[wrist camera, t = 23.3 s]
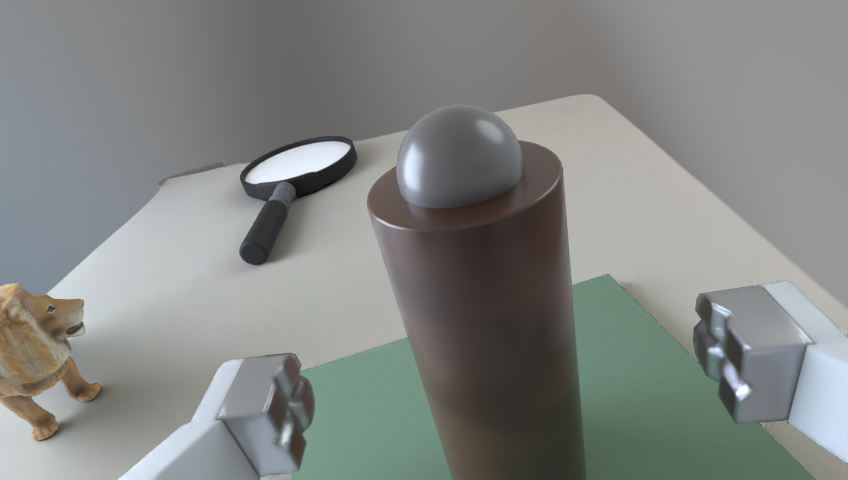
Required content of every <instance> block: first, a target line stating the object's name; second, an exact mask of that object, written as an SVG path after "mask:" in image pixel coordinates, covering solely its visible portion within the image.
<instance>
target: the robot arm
mask: <svg viewBox="0 0 848 480" xmlns="http://www.w3.org/2000/svg"><path fill="white" fill-rule="evenodd" d="M695 310H696V312H697V314H698V315H699V317H700V318H701V320H700V322H699V323H698V324H697V325H696V326H695V327H694V333H693V343H694V348H695V353H696V356H697V359H698V361H699V364H700V366H701V368H702V369H703V371H704V373H705V375H706V376H707V377H709V378H711V379H713V380H714V381H716V382H718V383H719V388H718V396H719V398H720V399H721V401H722V403H723V404H724V406H725V408H726V409H727V411H728V412H729V414H730V416H731V417H732V419H733V421H734V422H735V424H749V423H761V422H773V421H785V420H788V423H789V424H790V425H792V426H793V427H795V428H796V429H798V430H799V431H800V432H802V433H803V434H805V435H806V436H808V437H809V438H811V439H812V440H814V441H815V442H817V443H818V444H819V445H821V446H822V447H824V448H825V449H827V450H828V451H830V452H831V453H833V454H834V455H835V456H837V457H838V458H840V459H841V460H843V461H844V462H846V463H847V464H848V336H847V335H846V334H845V333H844V332H843V331H842V330H841V329H840V328H839V327H838V326H837V325H836V324H835V323H834V322H833V321H832V320H831V319H830V318H829V317H828V316H827V315H826V314H825V313H824V312H823V311H821V310H820V309H819V308H818V307H817V306H816V305H815V304H814V303H813V302H812V301H811V300H810V299H809V298H808V297H807V296H806V295H805V294H804V293H803V292H802V291H801V290H800V289H799V288H798V287H797V286H796V285H795V284H794V283H792V282H790V281H787V280H783V281H777V282H771V283H764V284H758V285H756V286H748V287H741V288H734V289H728V290H721V291H715V292H708V293H701V294H699V296H698V298H697V300H696V308H695ZM300 369H301V363H300V361H299V359H298V358H297V356H296V354H293V353H283V354H275V355H266V356H258V357H249V358H246V359H237V360H228V361H225V362H224V363H223V364H221V365H220V367H219V369H218V371H217V373H216V375H215V377H214V378H213V380H212V382H211V384H210V386H209V388H208V390H207V392H206V394H205V396H204V398H203V400H202V401H201V403H200V405H199V407H198V409H197V411H196V413H195V415H194V417H193V419H192V421H191V423H190V424H183V425H182V426H181V427H180V428H178V429H177V430H176V431H175V432H174V433H172V434H171V435H170V436H169V437H168V438H167V439H165V440H164V441H163V442H162V443H161V444H159V445H158V446H157V447H156V448H155V449H154V450H152V451H151V452H150V453H149V454H148V455H146V456H145V457H144V458H143V459H142V460H141V461H139V462H138V463H137V464H136V465H135V466H133V467H132V468H131V469H130V470H129V471H127V472H126V473H125V474H124V475H123V476H122V477H120V478H119V479H118V480H260V478H259V477H264V476H271V475H278V474H285V473H293V472H299V470H300V466H301V462H302V459H303V455H304V451H305V448H306V444H307V442H306V440H305V438H304V436H303V433H304V432H305V431H306V430H307V428H308V427H309V426H310V425H311V424H312V421H313V417H314V413H315V397H314V392H313V388H312V386H311V384H310V382H309V380H308V379H307V378H305V377H304V376H302V375H300V374H299V372H300Z"/></svg>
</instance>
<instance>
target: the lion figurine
mask: <svg viewBox="0 0 848 480" xmlns="http://www.w3.org/2000/svg"><path fill="white" fill-rule="evenodd" d="M83 306H84V300H82V299H53V298H51V297H50V296H48V295H32V294H30V293H29V292H27V291H26V290H25V289H24V288H23V287H22V286H21V285H20V284H19V283H15V284H5V285H3V286H1V287H0V402H1V403H2V404H3V405H4V406H5V407H7V408H8V409H10V410H11V411H13V412H14V413H15V414H17V415H18V416H19V417H21V418H23V419H24V420H26V421H28V422H29V423H30V424H31V425H32V427H33V432H32V437H33V438H34V439H35V440H43V439H45V438H48V437H50V436H51V435H52V434H53V433H54V432H56V431H57V429H58V427H59V426H58V422H57V421H56V420H55V416H54V415H53V414H51V413H49V412H48V411H46V410H44V409H43V408H41V407H40V406H39V405H37V404H36V403H35V402H34V401H33V400H32V398H31V396H36V395H38V394H40V393H41V392H42V391H43V390H45V389H48V388H50V387H51V386H53V385H55V384H56V383H57V382H58V381H59V380H61V381H62V382H63V384H64V387H65V389H66V391H67V393H68V395H69V396H70V397H71V398H73V399H77V400H79V401H80V402H88V401H90V400H92V399H94V398H95V397H96V395H97V394H98V393H99V391H100V389H101V385H100V384H98V383H94V384H88V383H87V382H86V381H84V379H83V378H82V377H81V376H80V374H79V373H78V371H77V368H76V366H75V363H74V361H73V360H72V358H71V357H70V356H69V355H70V353H71V347H70V345H69V342H68V340H67V339H66V338H69V337H75V336H81V335H83V334H84V333H85V326H84V324H83V322H82V319H83Z"/></svg>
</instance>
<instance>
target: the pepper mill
mask: <svg viewBox="0 0 848 480" xmlns="http://www.w3.org/2000/svg"><path fill="white" fill-rule="evenodd" d="M367 208H368V211H369V215H370V218H371V221H372V224H373V227H374V231H375V234H376V237H377V240H378V243H379V246H380V250H381V253H382V256H383V259H384V262H385V266H386V269H387V272H388V275H389V278H390V282H391V285H392V288H393V291H394V294H395V298H396V301H397V304H398V307H399V310H400V313H401V317H402V320H403V323H404V326H405V329H406V333H407V336H408V339H409V342H410V345H411V349H412V352H413V355H414V358H415V361H416V365H417V368H418V371H419V374H420V377H421V380H422V384H423V387H424V390H425V393H426V396H427V400H428V403H429V406H430V409H431V412H432V416H433V419H434V422H435V425H436V428H437V432H438V435H439V438H440V441H441V444H442V447H443V451H444V454H445V457H446V460H447V463H448V467H449V470H450V473H451V476H452V479H453V480H586V463H585V450H584V437H583V424H582V411H581V398H580V385H579V372H578V359H577V346H576V333H575V320H574V307H573V294H572V281H571V268H570V255H569V242H568V229H567V216H566V203H565V190H564V177H563V167H562V164H561V161H560V160H559V158H558V157H557V155H555V154H554V153H553V152H552V151H551V150H549V149H547V148H545V147H543V146H540V145H538V144H534V143H531V142H526V141H520V140H517V138H516V136H515V134H514V133H513V131H512V130H511V129H510V127H509V126H508V125H507V124H506V123H505V122H504V121H503V120H502V119H500V118H499V117H498V116H496V115H495V114H493V113H491V112H489V111H488V110H486V109H483V108H480V107H477V106H472V105H450V106H445V107H442V108H439V109H436V110H434V111H432V112H430V113H428V114H427V115H425V116H424V117H422V118H421V119H420V120H419V121H418V122H417V123H415V124H414V125H413V127H412V128H411V129H410V130H409V132H408V133H407V135H406V136H405V138H404V140H403V142H402V144H401V147H400V150H399V153H398V157H397V166H395V167H394V168H392V169H391V170H389V171H388V172H386V173H385V174H384V175H383V176H382V177H380V178H379V179H378V180H377V182H376V183H375V184H374V185H373V187H372V188H371V189H370V192H369V194H368V198H367Z"/></svg>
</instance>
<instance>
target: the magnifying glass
mask: <svg viewBox="0 0 848 480" xmlns="http://www.w3.org/2000/svg"><path fill="white" fill-rule="evenodd" d="M356 160H357V154H356V151H355V147H354V144H353V142H352V141H351V140H350V139H348V138H345V137H340V136H326V137H317V138H312V139H307V140H303V141H299V142H295V143H292V144H289V145H286V146H283V147H281V148H278V149H276V150H274V151H271V152H269V153H267V154H265V155H263V156H262V157H260V158H258V159H256V160H255V161H253V162H252V163H250V164H249V165H248V166H247V167H246V168H245V169H244V170H243V171H242V173H241V175H240V180H241V183H242V185H243V187H244V189H245V191H246V193H247V194H248V195H249V196H251V197H254V198H258V199H262V200H264V201H268V202H267V203H266V204H265V205H264V207H263V208H262V210H261V212H260V213H259V215H258V217H257V219H256V220H255V222H254V224H253V226H252V227H251V229H250V231H249V232H248V234H247V236H246V238H245V239H244V241H243V243H242V244H241V246H240V250H239V253H240V256H241V258H242V259H243V260H244V261H246V262H247V263H249V264H253V265H257V264H261V263H263V262H264V261H265V260H266V259H267V257H268V255H269V253H270V251H271V249H272V247H273V245H274V242H275V240H276V238H277V236H278V234H279V232H280V230H281V228H282V225H283V223H284V221H285V219H286V217H287V214H288V210H289V208H290V203H291V202H292V201H293V200H294V197H298V196H302V195H305V194H308V193H311V192H314V191H316V190H318V189H320V188H321V186H324V185H326V184H328V183H330V182H332V181H334V180H336V179H337V178H339V177H341V176H342V175H343V174H345V173H346V172H347V171H349V170H350V169H351V168H352V167H353V165H354V164H355V162H356Z"/></svg>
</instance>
